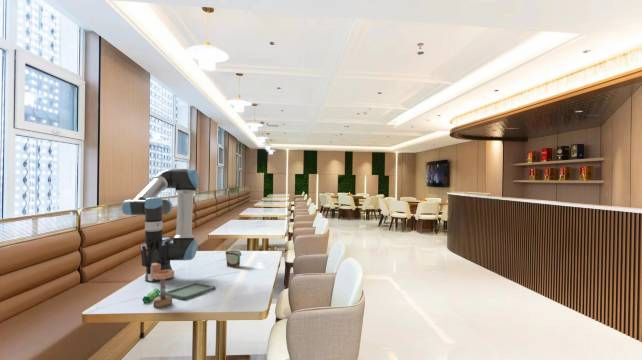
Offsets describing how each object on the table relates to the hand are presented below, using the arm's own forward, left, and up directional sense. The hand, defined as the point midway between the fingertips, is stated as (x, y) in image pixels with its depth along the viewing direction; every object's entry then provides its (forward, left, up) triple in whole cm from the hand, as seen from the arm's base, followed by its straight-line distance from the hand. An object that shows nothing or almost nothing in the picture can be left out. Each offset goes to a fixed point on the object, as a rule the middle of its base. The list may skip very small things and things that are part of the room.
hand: (154, 279), depth 169 cm
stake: (+7, 0, -11) cm, 13 cm away
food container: (-14, +70, -11) cm, 72 cm away
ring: (+5, 0, +2) cm, 5 cm away
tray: (+3, +19, -11) cm, 22 cm away
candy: (-6, +3, -11) cm, 13 cm away
